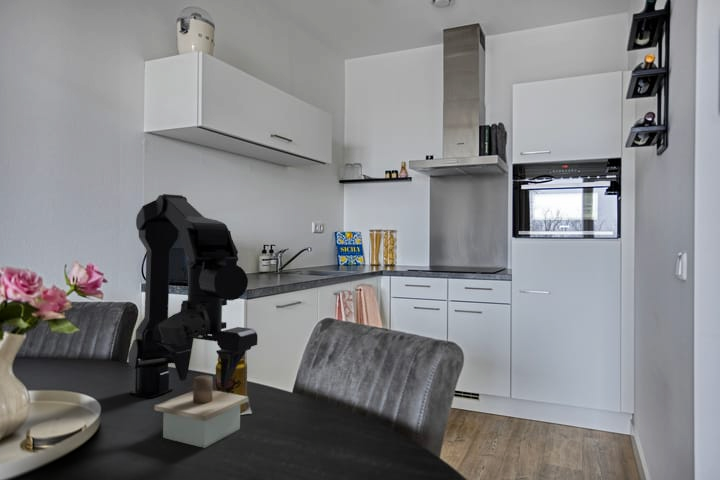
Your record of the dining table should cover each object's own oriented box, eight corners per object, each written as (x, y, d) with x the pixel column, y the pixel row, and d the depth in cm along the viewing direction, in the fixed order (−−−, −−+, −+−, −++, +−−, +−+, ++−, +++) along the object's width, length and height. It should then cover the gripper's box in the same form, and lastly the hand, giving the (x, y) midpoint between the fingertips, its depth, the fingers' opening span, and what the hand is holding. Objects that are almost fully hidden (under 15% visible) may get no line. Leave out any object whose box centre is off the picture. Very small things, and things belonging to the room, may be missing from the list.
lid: (154, 410, 83) (154, 381, 83) (200, 392, 93) (201, 366, 93) (204, 421, 78) (205, 391, 78) (248, 401, 88) (248, 374, 88)
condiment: (212, 418, 92) (213, 354, 92) (212, 403, 101) (213, 345, 101) (251, 414, 95) (253, 352, 95) (248, 400, 103) (249, 343, 103)
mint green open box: (163, 439, 83) (163, 409, 83) (200, 421, 91) (201, 394, 91) (204, 449, 79) (205, 418, 79) (239, 430, 87) (240, 402, 87)
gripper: (127, 295, 82) (125, 388, 82) (216, 303, 74) (214, 406, 74) (177, 289, 92) (176, 372, 92) (260, 296, 84) (258, 386, 84)
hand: (203, 383), depth 85 cm, fingers open, 9 cm apart
